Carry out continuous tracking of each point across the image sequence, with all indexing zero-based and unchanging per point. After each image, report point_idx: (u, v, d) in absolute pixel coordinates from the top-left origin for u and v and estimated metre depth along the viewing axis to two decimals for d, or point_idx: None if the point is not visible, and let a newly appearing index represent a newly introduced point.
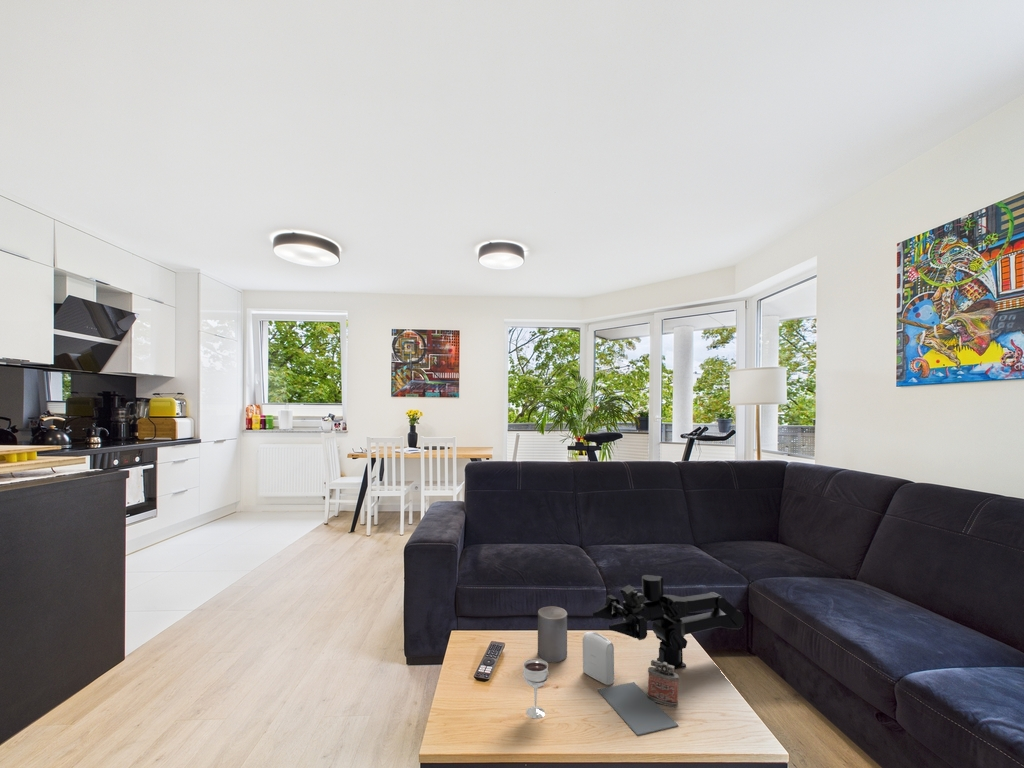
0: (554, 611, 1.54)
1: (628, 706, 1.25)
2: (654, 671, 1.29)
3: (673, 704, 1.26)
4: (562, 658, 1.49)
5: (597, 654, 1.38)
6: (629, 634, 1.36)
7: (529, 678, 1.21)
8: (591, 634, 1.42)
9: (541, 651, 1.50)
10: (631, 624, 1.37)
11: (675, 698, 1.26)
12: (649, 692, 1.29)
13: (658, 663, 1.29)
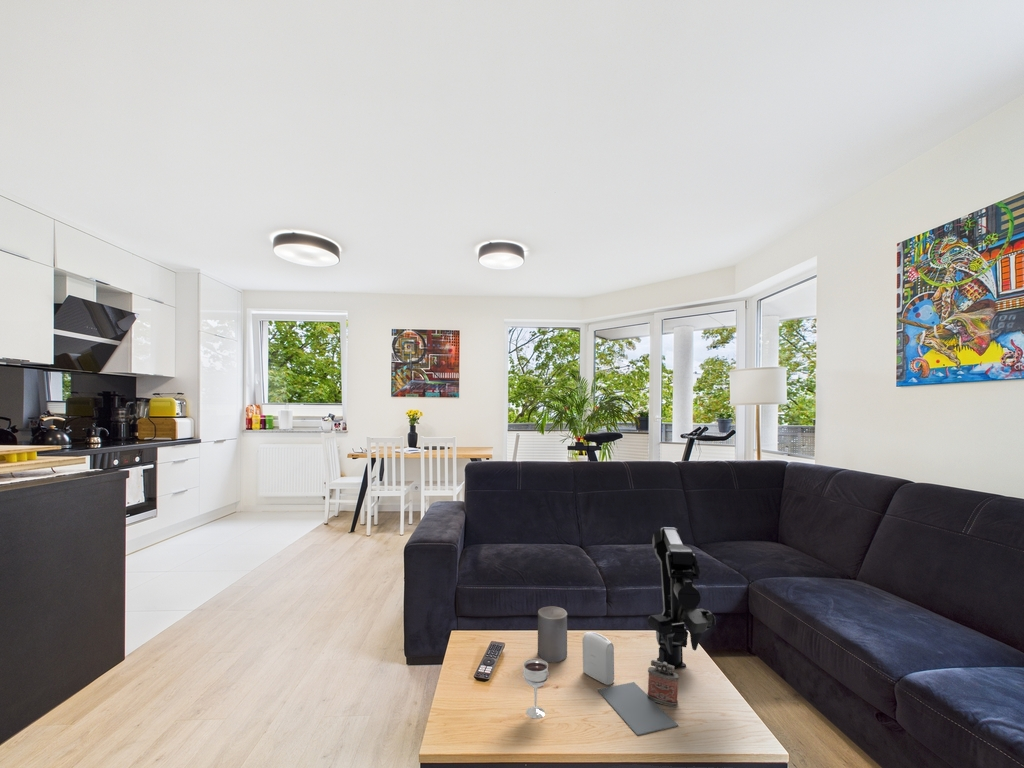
0: (554, 611, 1.54)
1: (628, 706, 1.25)
2: (654, 671, 1.29)
3: (673, 704, 1.26)
4: (562, 658, 1.49)
5: (597, 654, 1.38)
6: None
7: (529, 678, 1.21)
8: (591, 634, 1.42)
9: (541, 651, 1.50)
10: None
11: (675, 698, 1.26)
12: (649, 692, 1.29)
13: (658, 663, 1.29)
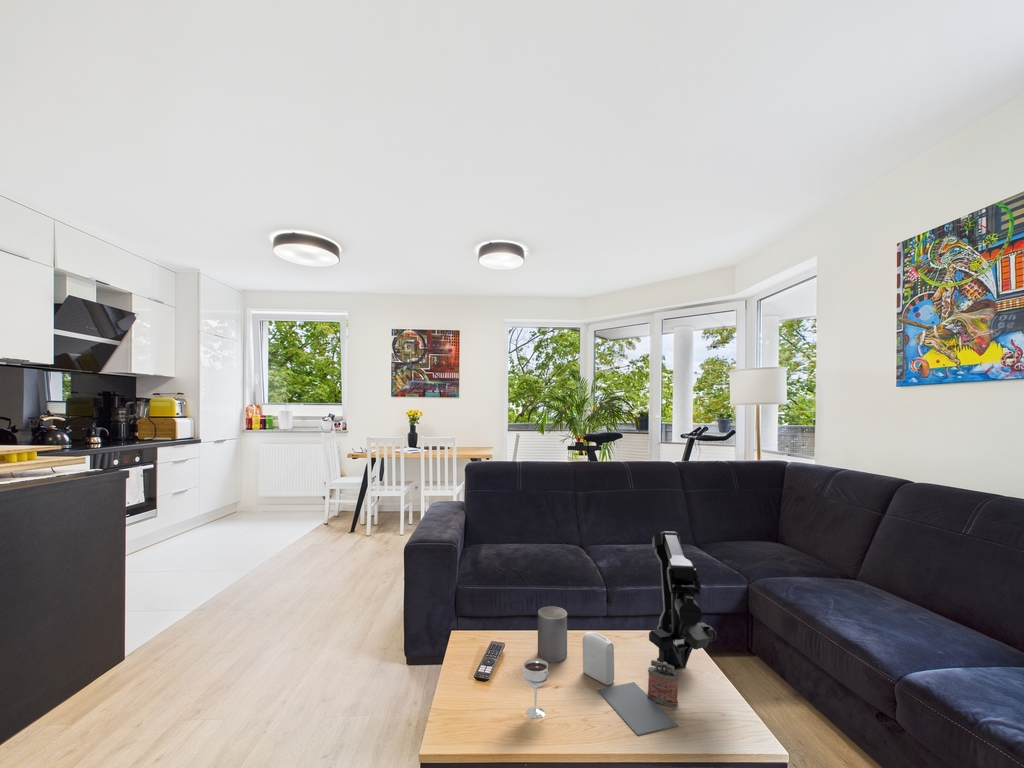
0: (554, 611, 1.54)
1: (628, 706, 1.25)
2: (654, 671, 1.29)
3: (673, 704, 1.26)
4: (562, 658, 1.49)
5: (597, 654, 1.38)
6: None
7: (529, 678, 1.21)
8: (591, 634, 1.42)
9: (541, 651, 1.50)
10: None
11: (675, 698, 1.26)
12: (649, 692, 1.29)
13: (658, 663, 1.29)
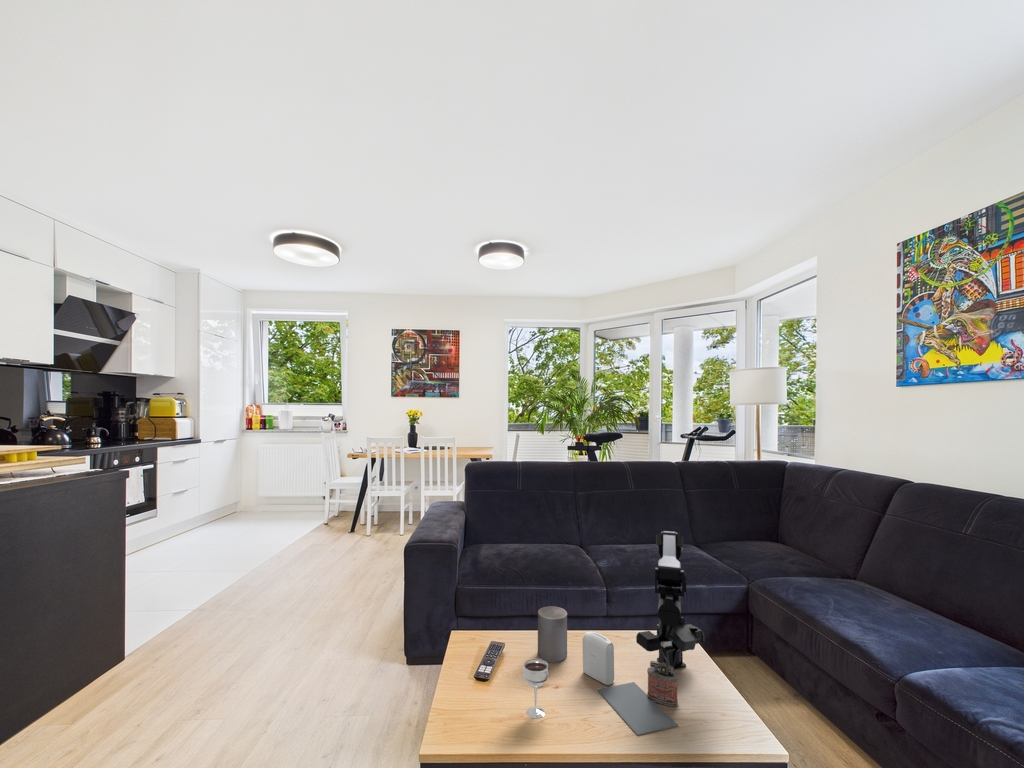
0: (554, 611, 1.54)
1: (628, 706, 1.25)
2: (653, 672, 1.29)
3: (673, 704, 1.26)
4: (562, 658, 1.49)
5: (597, 654, 1.38)
6: None
7: (529, 678, 1.21)
8: (591, 634, 1.42)
9: (541, 651, 1.50)
10: None
11: (675, 698, 1.26)
12: (649, 692, 1.29)
13: (657, 664, 1.29)
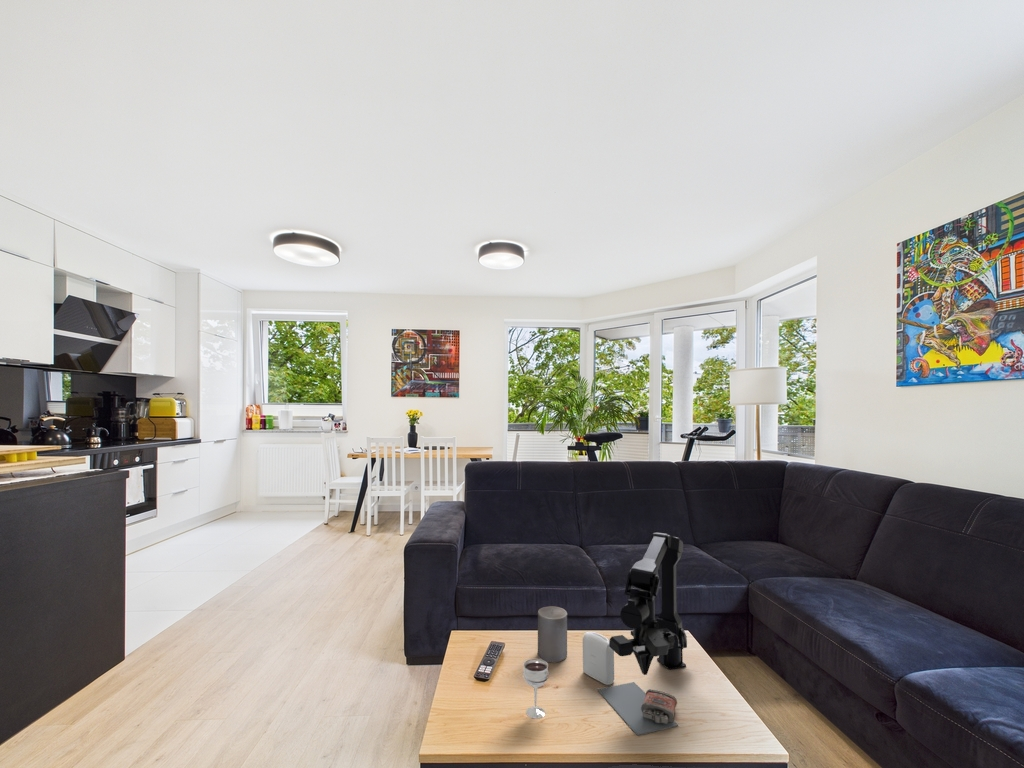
0: (554, 611, 1.54)
1: (628, 706, 1.25)
2: None
3: None
4: (562, 658, 1.49)
5: (597, 654, 1.38)
6: None
7: (529, 678, 1.21)
8: (591, 634, 1.42)
9: (541, 651, 1.50)
10: None
11: None
12: None
13: (650, 718, 1.19)
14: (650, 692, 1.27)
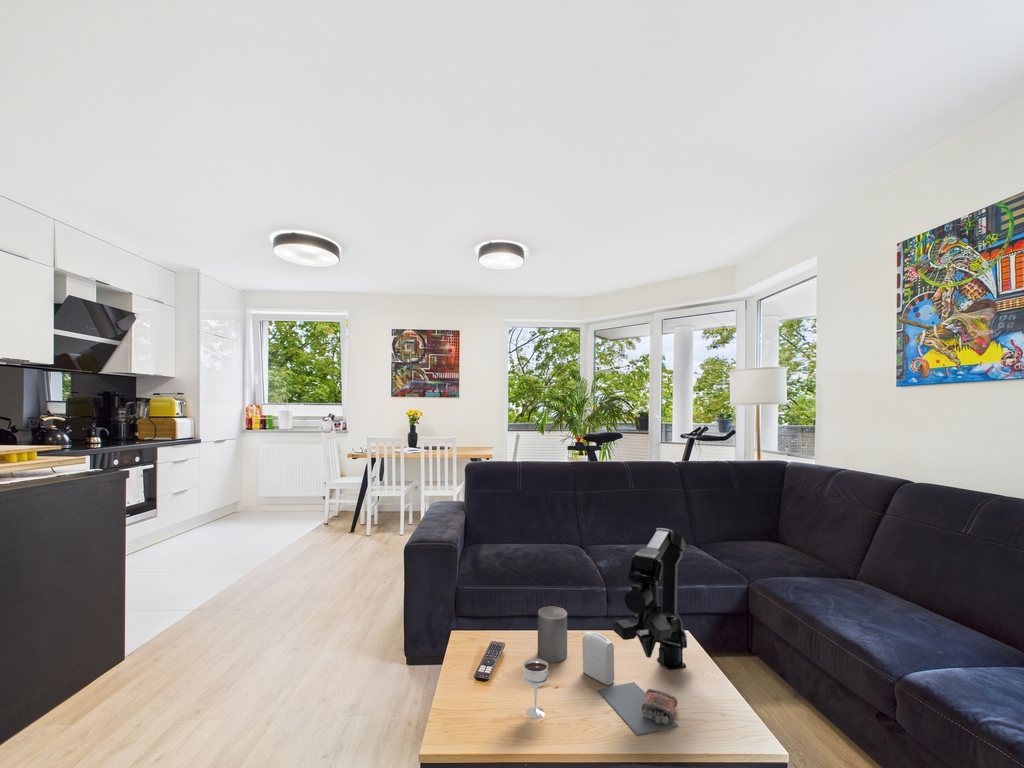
0: (554, 611, 1.54)
1: (628, 706, 1.25)
2: None
3: None
4: (562, 658, 1.49)
5: (597, 654, 1.38)
6: None
7: (529, 678, 1.21)
8: (591, 634, 1.42)
9: (541, 651, 1.50)
10: None
11: None
12: None
13: (650, 718, 1.19)
14: (651, 692, 1.27)
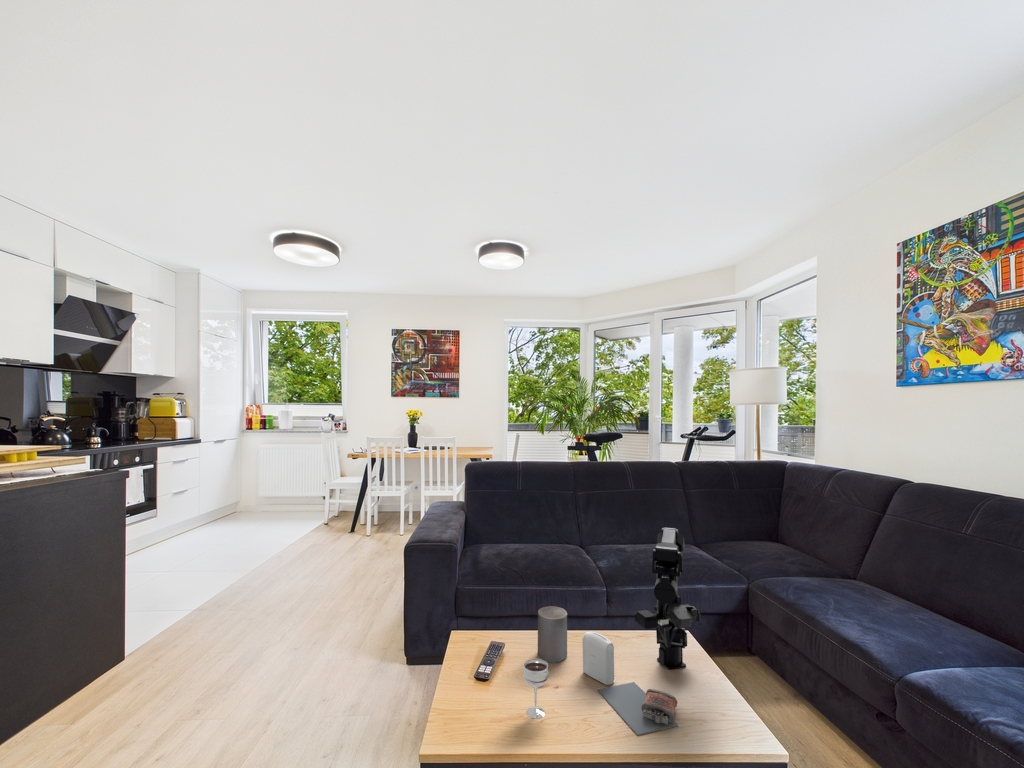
0: (554, 611, 1.54)
1: (628, 706, 1.25)
2: None
3: None
4: (562, 658, 1.49)
5: (597, 654, 1.38)
6: None
7: (529, 678, 1.21)
8: (591, 634, 1.42)
9: (541, 651, 1.50)
10: None
11: None
12: None
13: (650, 718, 1.19)
14: (651, 692, 1.27)
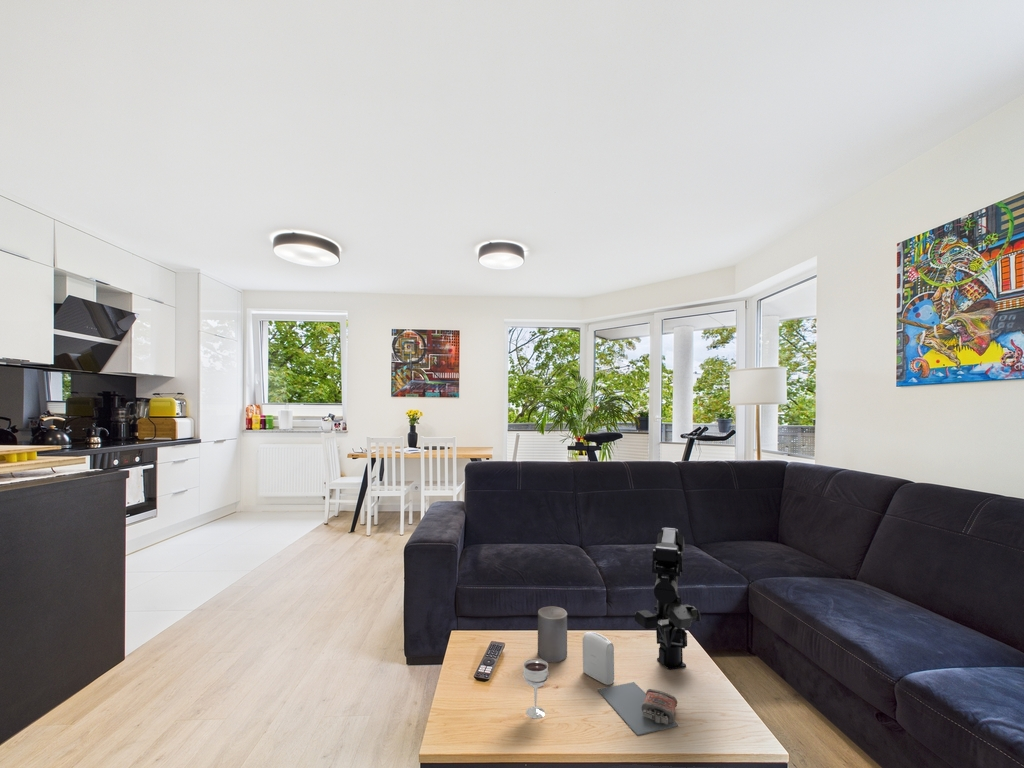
0: (554, 611, 1.54)
1: (628, 706, 1.25)
2: None
3: None
4: (562, 658, 1.49)
5: (597, 654, 1.38)
6: None
7: (529, 678, 1.21)
8: (591, 634, 1.42)
9: (541, 651, 1.50)
10: None
11: None
12: None
13: (650, 718, 1.19)
14: (651, 692, 1.27)
